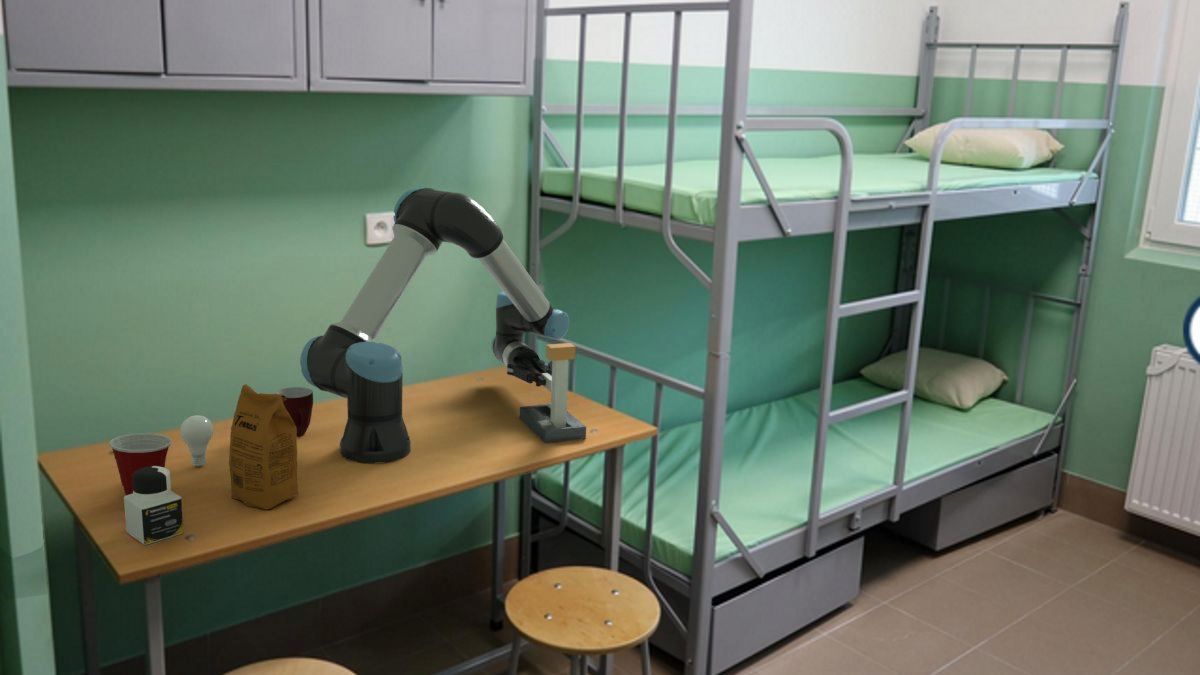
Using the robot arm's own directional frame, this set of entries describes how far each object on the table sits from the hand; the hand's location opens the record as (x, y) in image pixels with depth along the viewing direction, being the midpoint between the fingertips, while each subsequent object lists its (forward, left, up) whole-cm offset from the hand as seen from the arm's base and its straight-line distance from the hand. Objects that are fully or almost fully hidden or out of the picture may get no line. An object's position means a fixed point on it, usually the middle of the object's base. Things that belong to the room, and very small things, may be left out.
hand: (553, 386), depth 241 cm
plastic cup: (-32, -85, -10) cm, 91 cm away
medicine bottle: (-17, -92, -10) cm, 94 cm away
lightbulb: (-39, -69, -10) cm, 80 cm away
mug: (-39, -44, -10) cm, 59 cm away
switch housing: (0, -1, -10) cm, 10 cm away
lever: (+4, -3, -8) cm, 10 cm away
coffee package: (-16, -70, -10) cm, 72 cm away
